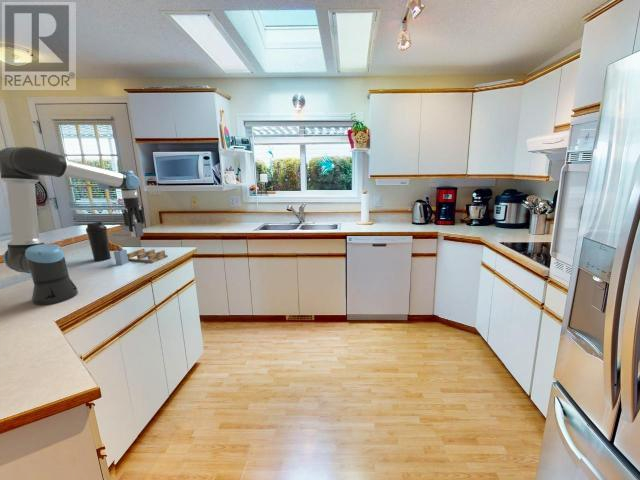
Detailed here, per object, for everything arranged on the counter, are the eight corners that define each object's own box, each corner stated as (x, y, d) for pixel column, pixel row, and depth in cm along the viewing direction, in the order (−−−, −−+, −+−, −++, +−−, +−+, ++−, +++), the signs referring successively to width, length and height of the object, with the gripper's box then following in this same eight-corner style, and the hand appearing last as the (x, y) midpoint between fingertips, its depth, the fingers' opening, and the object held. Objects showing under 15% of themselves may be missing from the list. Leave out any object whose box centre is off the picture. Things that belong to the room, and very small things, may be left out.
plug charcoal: (131, 236, 180) (128, 220, 177) (137, 235, 184) (134, 219, 182) (137, 237, 179) (134, 220, 176) (143, 235, 183) (140, 219, 180)
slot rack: (152, 262, 176) (151, 256, 175) (125, 260, 182) (124, 253, 181) (167, 256, 188) (166, 250, 187) (141, 254, 193) (140, 248, 192)
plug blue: (122, 265, 173) (119, 248, 171) (116, 264, 175) (112, 248, 172) (128, 262, 178) (125, 246, 175) (122, 262, 179) (119, 246, 176)
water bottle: (116, 256, 189) (109, 221, 184) (103, 261, 180) (95, 224, 174) (101, 256, 190) (94, 221, 185) (88, 261, 181) (80, 224, 175)
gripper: (122, 199, 166) (129, 239, 172) (147, 195, 183) (153, 232, 189) (112, 199, 168) (119, 238, 174) (137, 195, 185) (144, 232, 191)
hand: (137, 235), depth 181 cm, fingers closed on plug charcoal, 4 cm apart
